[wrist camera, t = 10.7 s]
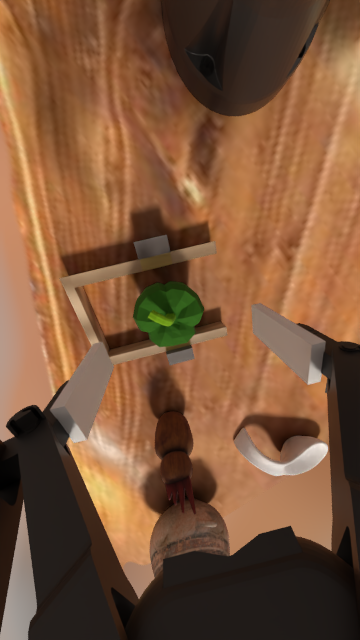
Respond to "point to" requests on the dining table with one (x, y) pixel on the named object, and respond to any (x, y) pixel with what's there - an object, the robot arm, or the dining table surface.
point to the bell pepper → (168, 313)
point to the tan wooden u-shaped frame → (149, 257)
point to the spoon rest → (284, 454)
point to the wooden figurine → (175, 456)
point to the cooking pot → (188, 533)
